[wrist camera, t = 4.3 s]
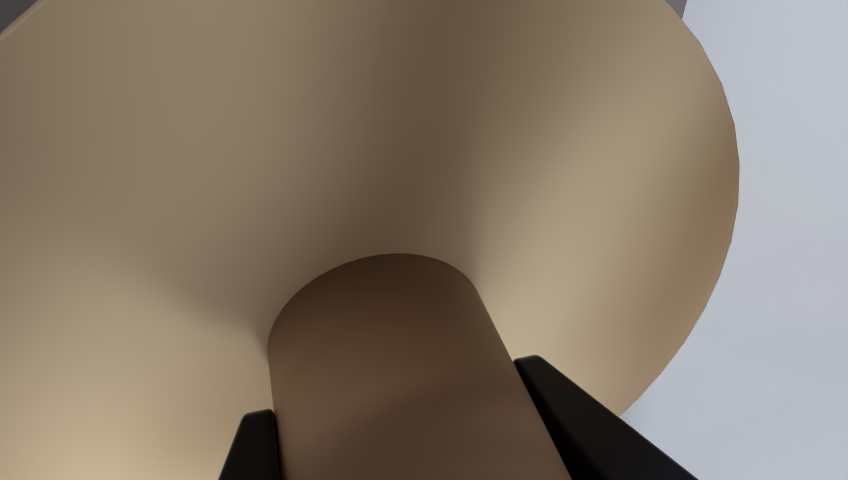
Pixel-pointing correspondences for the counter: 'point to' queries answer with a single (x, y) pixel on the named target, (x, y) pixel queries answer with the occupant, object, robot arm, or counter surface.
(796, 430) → the counter surface
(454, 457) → the lid
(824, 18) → the counter surface
